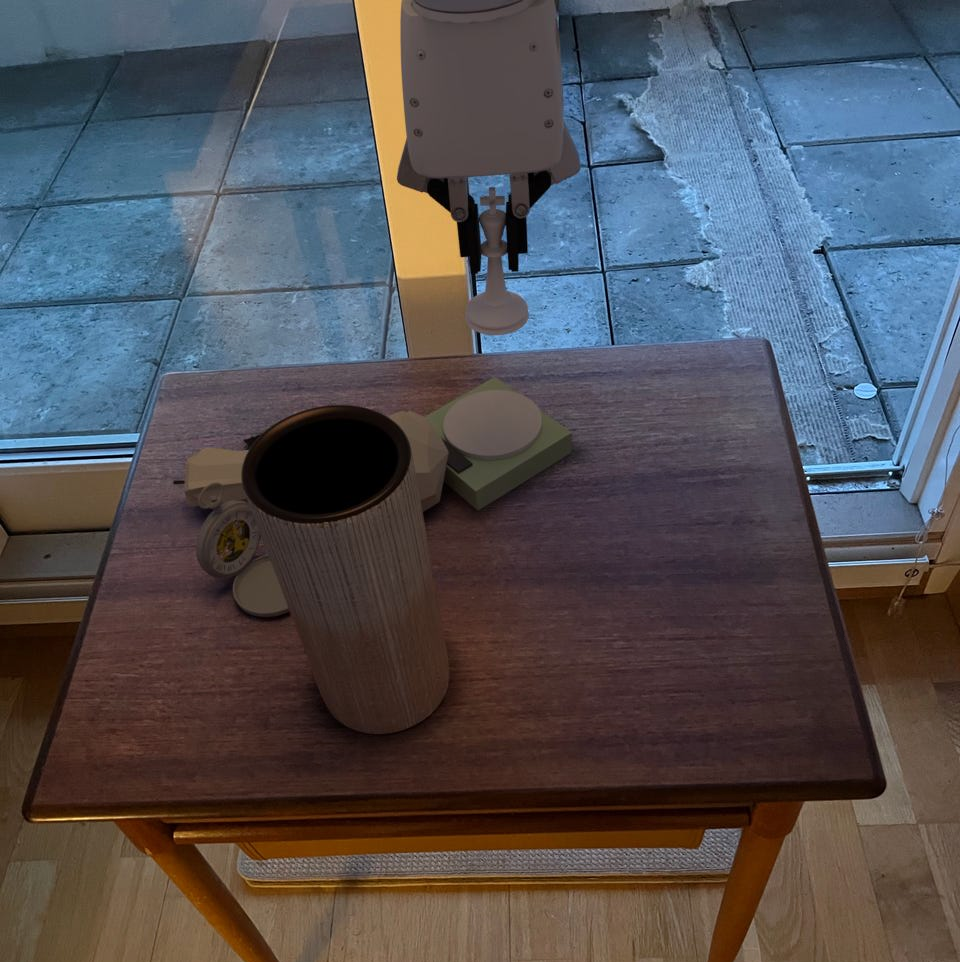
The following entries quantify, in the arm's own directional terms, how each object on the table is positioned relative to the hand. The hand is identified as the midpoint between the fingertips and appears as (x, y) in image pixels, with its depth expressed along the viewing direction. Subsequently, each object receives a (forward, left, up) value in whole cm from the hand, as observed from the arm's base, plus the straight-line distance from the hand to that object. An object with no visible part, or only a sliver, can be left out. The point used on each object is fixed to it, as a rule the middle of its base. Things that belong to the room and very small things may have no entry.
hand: (494, 260), depth 69 cm
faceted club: (+15, -10, -21) cm, 27 cm away
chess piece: (0, 0, -5) cm, 5 cm away
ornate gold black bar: (+13, -19, -21) cm, 31 cm away
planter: (+22, +11, -21) cm, 32 cm away
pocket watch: (+24, -4, -21) cm, 32 cm away
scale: (0, -4, -21) cm, 21 cm away
